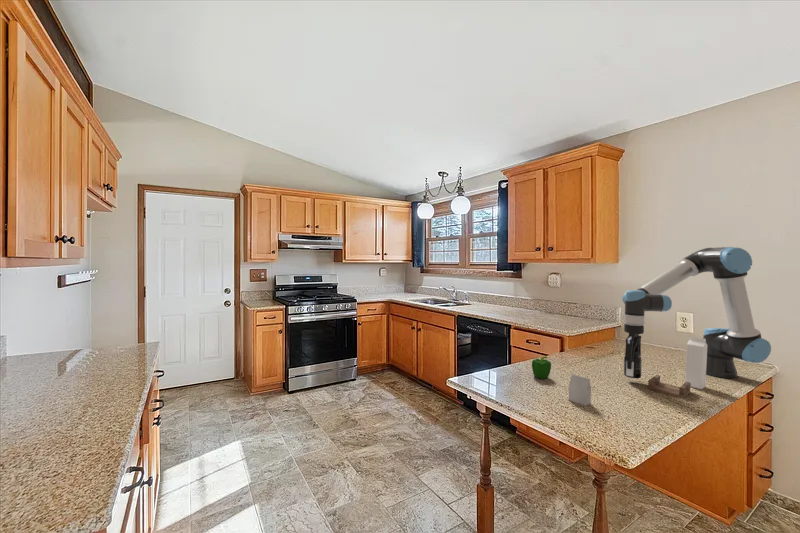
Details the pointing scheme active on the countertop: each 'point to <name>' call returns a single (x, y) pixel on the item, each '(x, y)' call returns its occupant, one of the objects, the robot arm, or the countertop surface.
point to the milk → (696, 362)
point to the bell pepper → (541, 367)
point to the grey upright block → (580, 390)
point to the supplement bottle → (635, 365)
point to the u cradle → (668, 387)
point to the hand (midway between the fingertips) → (632, 374)
